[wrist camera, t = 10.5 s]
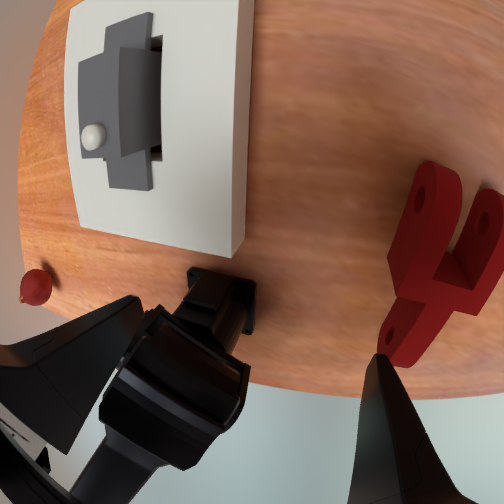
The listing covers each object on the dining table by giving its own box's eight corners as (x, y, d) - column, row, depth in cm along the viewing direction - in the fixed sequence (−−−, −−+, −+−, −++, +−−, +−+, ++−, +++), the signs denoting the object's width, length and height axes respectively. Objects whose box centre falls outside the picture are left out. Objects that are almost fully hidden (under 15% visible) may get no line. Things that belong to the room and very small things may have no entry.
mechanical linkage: (419, 154, 15) (445, 170, 10) (494, 188, 13) (528, 213, 9) (353, 327, 23) (351, 370, 19) (417, 341, 22) (423, 382, 18)
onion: (58, 293, 38) (29, 320, 32) (39, 268, 37) (9, 293, 30) (63, 282, 35) (30, 311, 29) (43, 254, 34) (9, 281, 27)
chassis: (244, 239, 22) (231, 258, 19) (100, 214, 25) (80, 226, 23) (256, -35, 10) (242, -53, 8) (93, 11, 14) (70, 8, 11)
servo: (135, 32, 15) (73, 24, 9) (176, 21, 14) (115, 2, 8) (137, 174, 21) (79, 203, 16) (174, 177, 21) (118, 208, 15)
